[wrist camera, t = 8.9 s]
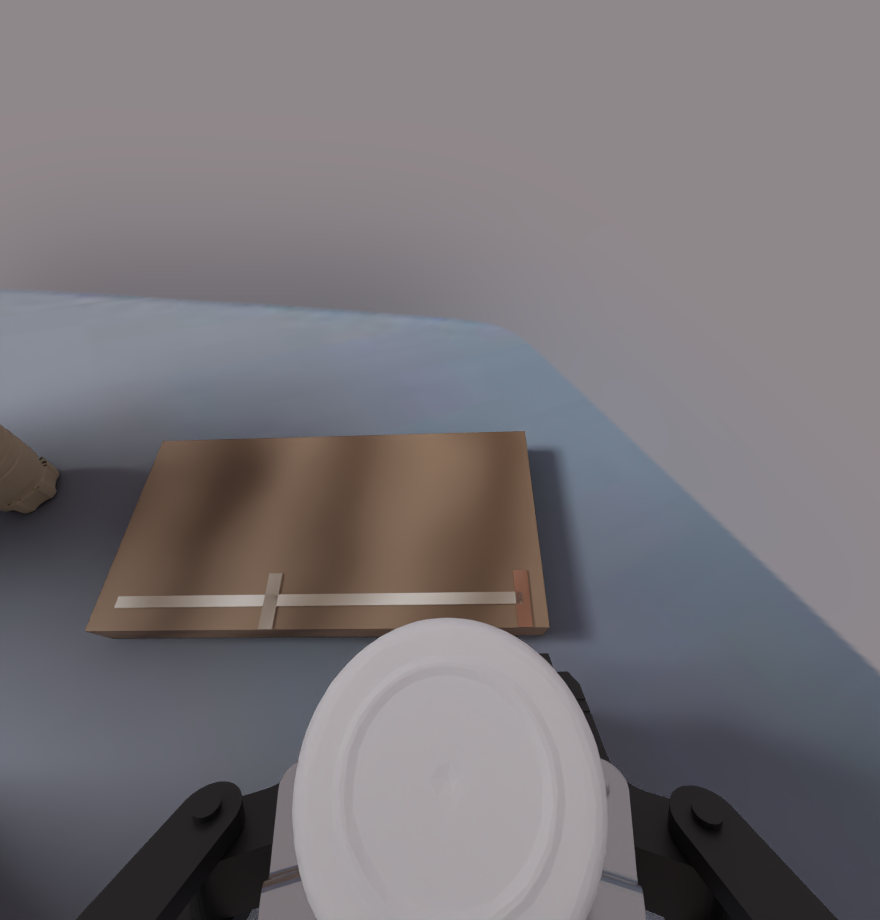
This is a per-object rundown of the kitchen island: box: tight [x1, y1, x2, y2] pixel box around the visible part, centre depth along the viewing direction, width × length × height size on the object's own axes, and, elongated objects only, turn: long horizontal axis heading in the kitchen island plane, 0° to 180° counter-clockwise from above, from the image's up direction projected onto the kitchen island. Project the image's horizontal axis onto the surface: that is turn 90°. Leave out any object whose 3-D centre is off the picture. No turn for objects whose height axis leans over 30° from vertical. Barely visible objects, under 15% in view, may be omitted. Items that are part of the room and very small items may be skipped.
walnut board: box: [85, 431, 549, 639], centre depth 22 cm, size 20×10×2 cm, turn 90°
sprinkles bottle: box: [292, 618, 608, 920], centre depth 12 cm, size 5×5×14 cm
